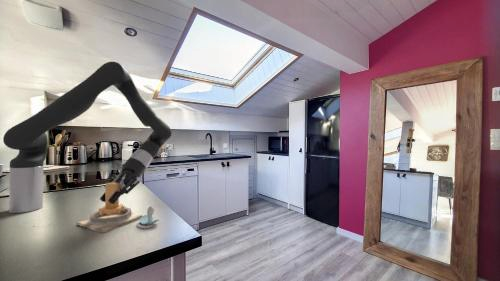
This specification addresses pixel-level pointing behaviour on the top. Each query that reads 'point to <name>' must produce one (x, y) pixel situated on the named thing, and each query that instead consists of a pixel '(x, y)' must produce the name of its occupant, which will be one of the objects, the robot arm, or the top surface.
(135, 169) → the robot arm
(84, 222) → the carrier plate
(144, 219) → the pacifier
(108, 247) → the top surface
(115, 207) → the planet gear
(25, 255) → the top surface
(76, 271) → the top surface
